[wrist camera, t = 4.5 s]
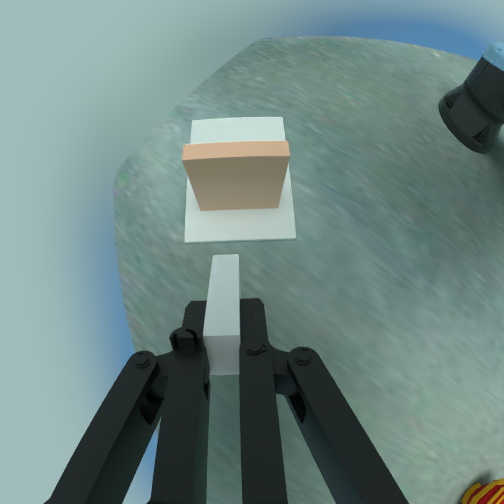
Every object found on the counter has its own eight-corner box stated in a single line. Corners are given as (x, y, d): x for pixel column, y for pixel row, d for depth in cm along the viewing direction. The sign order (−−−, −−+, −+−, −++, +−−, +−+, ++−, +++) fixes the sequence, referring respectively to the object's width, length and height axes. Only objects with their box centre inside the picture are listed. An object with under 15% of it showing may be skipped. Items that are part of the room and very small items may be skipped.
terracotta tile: (278, 208, 37) (290, 155, 26) (200, 211, 37) (182, 160, 26) (276, 194, 38) (287, 138, 26) (201, 196, 38) (183, 143, 26)
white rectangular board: (295, 239, 37) (296, 238, 36) (185, 243, 36) (184, 242, 36) (281, 119, 42) (282, 117, 42) (192, 122, 42) (192, 120, 41)
